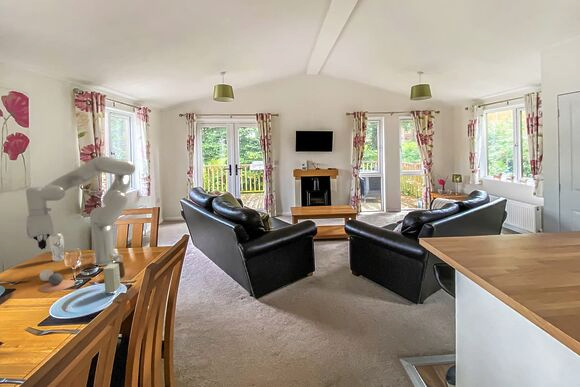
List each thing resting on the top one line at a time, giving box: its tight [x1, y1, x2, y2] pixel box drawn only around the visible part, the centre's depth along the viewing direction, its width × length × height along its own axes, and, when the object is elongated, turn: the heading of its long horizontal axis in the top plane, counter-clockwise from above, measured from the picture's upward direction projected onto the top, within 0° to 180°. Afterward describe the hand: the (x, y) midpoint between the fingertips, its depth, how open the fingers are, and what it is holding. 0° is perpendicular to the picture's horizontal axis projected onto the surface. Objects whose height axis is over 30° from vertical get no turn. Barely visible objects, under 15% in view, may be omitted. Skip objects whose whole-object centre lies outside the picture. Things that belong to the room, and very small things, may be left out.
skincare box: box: [103, 263, 122, 294], centre depth 150 cm, size 6×4×12 cm
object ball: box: [48, 272, 64, 285], centre depth 160 cm, size 6×6×6 cm
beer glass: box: [48, 232, 65, 262], centre depth 196 cm, size 7×7×15 cm
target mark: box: [38, 279, 76, 293], centre depth 158 cm, size 14×14×1 cm
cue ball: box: [39, 269, 54, 282], centre depth 165 cm, size 6×6×6 cm
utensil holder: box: [109, 254, 126, 279], centre depth 168 cm, size 6×6×12 cm
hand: (42, 248), depth 168 cm, fingers closed
